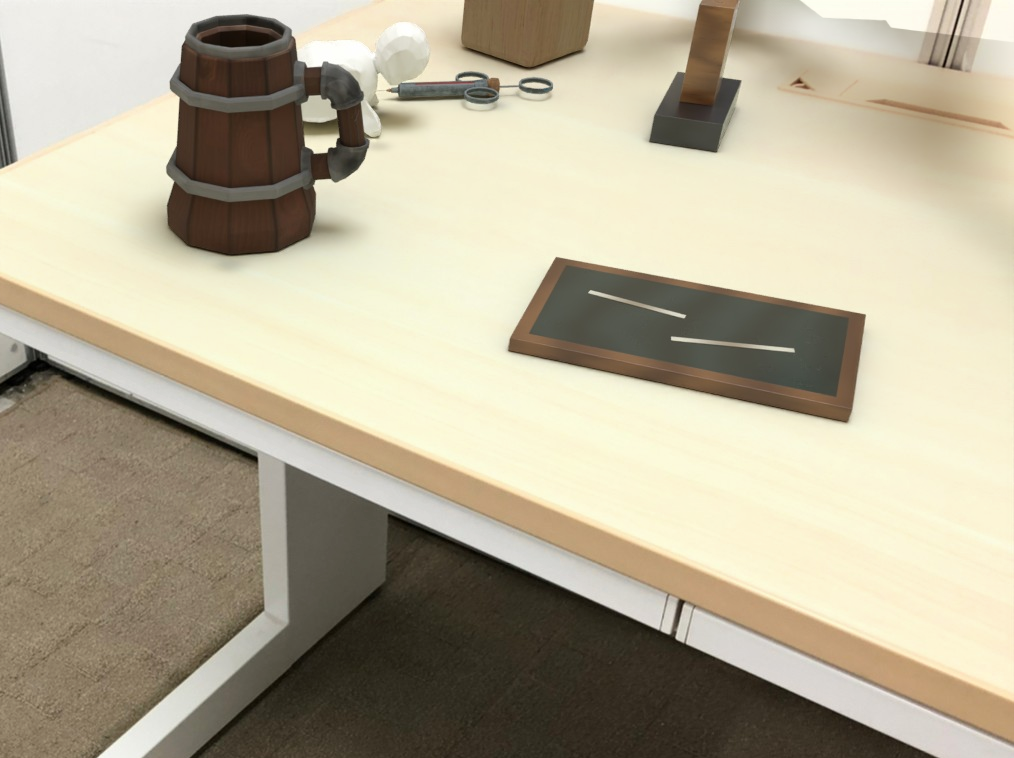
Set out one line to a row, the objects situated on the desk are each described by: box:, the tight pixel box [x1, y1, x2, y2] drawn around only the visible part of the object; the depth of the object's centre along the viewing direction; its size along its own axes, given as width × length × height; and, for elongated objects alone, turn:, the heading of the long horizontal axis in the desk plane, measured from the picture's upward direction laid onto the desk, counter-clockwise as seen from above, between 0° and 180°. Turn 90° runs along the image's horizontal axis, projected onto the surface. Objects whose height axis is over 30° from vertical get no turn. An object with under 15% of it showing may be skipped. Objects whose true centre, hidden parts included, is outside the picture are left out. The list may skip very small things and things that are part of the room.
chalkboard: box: [507, 256, 867, 423], centre depth 86 cm, size 22×13×1 cm, turn 66°
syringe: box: [377, 70, 554, 105], centre depth 121 cm, size 8×18×2 cm, turn 95°
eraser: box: [648, 0, 742, 153], centre depth 112 cm, size 6×12×11 cm, turn 156°
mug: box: [165, 13, 371, 255], centre depth 95 cm, size 16×12×15 cm
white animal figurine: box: [297, 21, 431, 138], centre depth 114 cm, size 9×8×15 cm
